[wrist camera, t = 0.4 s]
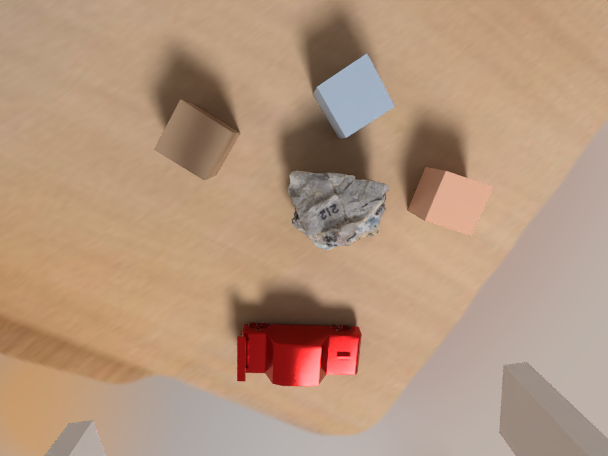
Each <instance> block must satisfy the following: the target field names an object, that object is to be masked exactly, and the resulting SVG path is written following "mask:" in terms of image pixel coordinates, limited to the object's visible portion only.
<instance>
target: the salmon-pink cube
mask: <svg viewBox="0 0 608 456" xmlns="http://www.w3.org/2000/svg"><path fill="white" fill-rule="evenodd" d="M493 188H494V187H492V186H489V185H486V184H483V183H480V182H477V181H475V180H472V179H469V178H466V177H463V176H460V175H457V174H454V173H451V172H448V171H445V170H439V169H434V168H429V167H425V169H424V171H423V174H422V176H421V179H420V181H419V184H418V186H417V189H416V191H415V193H414V196H413V198H412V201H411V203H410V206H409V208H408V211H409V212H411V213H413V214H414V215H416V216H418V217H419V218H421V219H423V220H424V221H427V222H430V223H433V224H436V225H439V226H443V227H446V228H449V229H452V230H455V231H458V232H461V233H464V234H467V235H472V233H473V231H474V229H475V227H476V225H477V222H478V220H479V218H480V216H481V214H482V212H483V210H484V207H485V205H486V203H487V201H488V199H489V197H490V195H491V192H492V190H493Z"/></svg>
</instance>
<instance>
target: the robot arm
mask: <svg viewBox="0 0 608 456" xmlns="http://www.w3.org/2000/svg"><path fill="white" fill-rule="evenodd" d="M499 433H500V434H501V436H502V437H503V438H504V440H505V441H506V443H507V444H508V445H509V447H510V448H511V450H512V451H513V452H514V454H515V455H516V456H608V438H607V437H605V435H603V434H602V433H601V432H600V431H599V430H598V429H597V428H596V427H595V426H594V425H593V424H592V423H591V422H590V421H588V420H587V418H585V417H584V416H583V415H582V414H581V413H580V412H579V411H578V410H577V409H576V408H575V407H574V406H573V405H572V404H571V403H570V402H569V401H568V400H566V399H565V398H564V397H563V396H562V395H561V394H560V393H559V392H558V391H557V390H556V389H555V388H554V387H553V386H552V385H551V384H550V383H548V382H547V381H546V380H545V379H544V378H543V377H542V376H541V375H540V374H539V373H538V372H537V371H536V370H535V369H534V368H533V367H532V366H530V365H529V364H528V363H527V362H524V363H517V364H509V365H503V381H502V398H501V414H500V432H499ZM45 456H106V454H105V451H104V448H103V446H102V443H101V440H100V437H99V434H98V432H97V429H96V426H95V424H94V421H93V420H91V421H84V422H76V423H69V424H68V425H67V427H66V428H65V429H64V431H63V432H62V433H61V435H60V436H59V437H58V438H57V440H56V441H55V442H54V444H53V445H52V446H51V448H50V449H49V450H48V452H47V453H46V454H45Z"/></svg>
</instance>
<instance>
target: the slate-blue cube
mask: <svg viewBox="0 0 608 456" xmlns="http://www.w3.org/2000/svg"><path fill="white" fill-rule="evenodd" d="M313 95H314V97H315V99H316V100H317V102H318V104H319V106H320V107H321V109H322V111H323V113H324V114H325V116H326V118H327V119H328V121H329V123H330V125H331V126H332V128H333V130H334V132H335V133H336V135H337V137H338V138H347V137H348V136H350V135H351V134H353V133H355V132H356V131H358V130H359V129H361V128H362V127H364V126H365V125H367V124H369V123H370V122H372V121H373V120H375V119H376V118H378V117H379V116H381V115H383V114H384V113H386V112H387V111H389V110H390V109H392V108H394V107H395V106H394V104H393V102H392V100H391V98H390V96H389V94H388V92H387V90H386V88H385V86H384V84H383V82H382V81H381V79H380V77H379V75H378V73H377V71H376V69H375V67H374V65H373V63H372V61H371V59H370V57H369V55H368V54H365V55H364V56H362V57H361V58H359V59H358V60H356V61H355V62H353V63H352V64H350V65H349V66H347V67H346V68H344V69H343V70H341V71H340V72H338V73H337V74H335V75H334V76H332V77H331V78H329V79H328V80H326V81H325V82H323V83H322V84H320V85H319V86H317V88H316V90H315V92H314V94H313Z"/></svg>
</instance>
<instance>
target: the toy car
mask: <svg viewBox="0 0 608 456" xmlns="http://www.w3.org/2000/svg"><path fill="white" fill-rule="evenodd" d="M260 324H261V323H258V326H256V323H255V322H253V323H251V324H250V326H248V324H244V327H243V331H241V335H242V337H239V336H238V337H237V381H245V373H265V374H266V375H267V376H268V378H269V379H270V381H271V382H272V384H276V385H281V386H316V385H319V384H320V382H321V381H322V379H323V378H324V377H325V375H326V374H340V375H355V374H357V372H358V363H359V354H360V345H361V336H362V335H361V332H360V329H359V327H356V326H351V330H350V328H349V327H348V326H347V325H343V329H342V328H341V326H342V325H339V327H340V328H337V327H336V325H333V326H332V328H331V327H330V326H319V325H282V324H270V325H269V326H267V324H266V323H262V326H261V327H262V328H263V329H261V327H260ZM256 327H257V328H256ZM255 329H257V330H255ZM336 329H339V330H336ZM339 331H340V332H339ZM342 331H343V332H342Z"/></svg>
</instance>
